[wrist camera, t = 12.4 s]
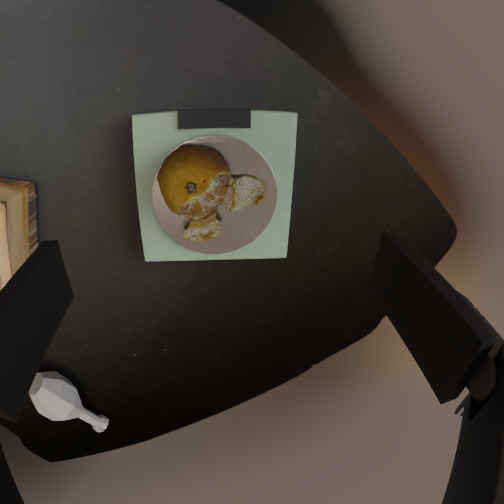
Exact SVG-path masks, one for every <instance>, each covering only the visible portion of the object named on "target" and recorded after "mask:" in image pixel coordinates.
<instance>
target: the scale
mask: <svg viewBox="0 0 504 504" xmlns="http://www.w3.org/2000/svg"><path fill="white" fill-rule="evenodd" d="M296 131H297V113H294V112H287V111H269V110H247V109H206V110H179V111H167V112H153V113H142V114H136V115H132V133H133V153H134V168H135V180H136V192H137V202H138V211H139V220H140V228H141V236H142V243H143V250H144V257H145V261H187V260H226V259H263V258H286V257H287V247H288V236H289V225H290V213H291V201H292V188H293V175H294V162H295V147H296ZM206 134H224V135H229V136H233V137H236V138H239V139H241V140H243V141H245V142H247V143H249V144H250V145H252V146H253V147H254V148H256V149H257V150H258V151H259V152H260V153H261V154H262V155H263V157H264V158H265V159H266V160H267V162H268V163H269V165H270V167H271V169H272V171H273V173H274V176H275V180H276V185H277V203H276V207H275V211H274V214H273V216H272V219H271V221H270V222H269V224H268V226H267V227H266V228H265V230H264V231H263V232H262V233H261V234H260V235H259V236H258V237H257V238H256V239H255V240H254V241H252V242H251V243H249V244H248V245H246V246H244V247H242V248H240V249H238V250H235V251H232V252H227V253H222V254H206V253H199V252H196V251H192V250H190V249H187V248H185V247H183V246H181V245H180V244H178V243H177V242H175V241H174V240H173V239H172V238H170V237H169V236H168V235H167V234H166V232H165V231H164V230H163V229H162V227H161V226H160V224H159V222H158V220H157V218H156V216H155V213H154V210H153V206H152V193H151V192H152V184H153V180H154V176H155V174H156V172H157V169H158V167H159V166H160V164H161V162H162V161H163V160H164V159H165V157H166V156H167V155H168V154H169V153H170V152H171V151H172V150H173V149H174V148H175V147H177V146H178V145H180V144H181V143H183V142H185V141H187V140H189V139H191V138H194V137H197V136H201V135H206Z"/></svg>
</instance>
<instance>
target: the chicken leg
mask: <svg viewBox="0 0 504 504" xmlns="http://www.w3.org/2000/svg"><path fill="white" fill-rule="evenodd" d="M29 395H30V397H31V399H32V402H33V404H34V405H35V407H36V409H37V411H38V412H39V413H40V414H42V415H43V416H45V417H47V418H49V419H51V420H52V421H64V420H69V419H73V418H77V417H78V418H80V419H82V420H84V421H86V422H87V423H89V424H91V425H93V429H94V430H95V431H96V432H104V429H106V427H107V426H108V420H109V419H108V418H107V417H106V416H104V415H96V414H94V413H92V412H91V411H89V410H87V409H85V408H84V407H83V406H82V403H81V400H80V397H79V394H78V391H77V389H76V388H75V387H74V385H73V384H72V383H71V382H70V381H69V380H68V379H67V378H65V377H64V376H63V375H61V374H60V373H58V372H57V371H51V372H40V373H36V376H35V378H34V381H33V383H32V385H31V388H30V390H29Z"/></svg>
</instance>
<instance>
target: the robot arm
mask: <svg viewBox="0 0 504 504" xmlns="http://www.w3.org/2000/svg"><path fill="white" fill-rule="evenodd" d="M369 290H370V291H371V293H372V294H373V295H374V297H375V298H376V300H377V301H378V303H379V304H380V306H381V307H382V309H383V310H384V312H385V313H386V315H387V316H388V318H389V319H390V321H391V323H392V324H393V326H394V327H395V329H396V330H397V332H398V333H399V335H400V337H401V338H402V340H403V341H404V343H405V345H406V346H407V347H408V349H409V351H410V352H411V354H412V356H413V357H414V359H415V361H416V362H417V364H418V366H419V367H420V369H421V371H422V372H423V374H424V376H425V377H426V379H427V381H428V382H429V384H430V386H431V388H432V389H433V391H434V393H435V395H436V396H437V398H438V400H439V402H440V404H443V403H446V402H449V401H451V400H454V399H456V398H457V397H458V396H459V395H460V393H461V392H462V391H463V390H464V388H465V387H467V389H468V390H469V393H468V395H467V396H466V397H465V399H464V400H463V401H462V402H461V404H460V405H459V406H458V407H457V409H456V411H455V414H457V413H458V412H459V411H460V410H461V409H462V408H463V407H464V411H463V412H462V414H461V416H463V418H462V425H461V430H460V436H459V441H458V446H457V450H456V455H455V459H454V463H453V467H452V471H451V475H450V478H449V482H448V486H447V489H446V492H445V495H444V499H443V502H442V504H504V340H503V339H502V338H501V336H500V335H499V334H498V333H497V332H496V331H495V329H494V328H493V327H492V326H491V324H490V323H489V322H488V321H487V320H486V319H485V318H484V316H483V315H481V313H480V312H479V311H478V310H477V309H476V308H474V305H473V304H472V303H471V302H470V301H469V300H468V299H467V298H466V297H465V296H463V295H462V294H461V293H459V292H458V291H456V290H455V289H454V288H453V287H452V286H451V285H450V284H449V283H448V282H447V281H446V280H445V279H444V278H443V277H442V276H441V274H440V273H439V272H437V270H436V269H435V268H434V267H433V266H432V265H431V264H430V263H429V262H428V261H427V260H425V259H424V258H423V257H422V256H421V255H420V254H419V253H418V252H417V251H416V250H415V249H414V248H413V247H412V246H411V245H410V244H409V243H408V242H407V241H406V240H404V239H403V238H402V237H401V236H400V235H399V234H398V233H382V236H381V240H380V245H379V249H378V253H377V257H376V261H375V265H374V269H373V273H372V277H371V280H370V284H369ZM73 298H74V295H73V292H72V289H71V286H70V283H69V279H68V276H67V273H66V269H65V266H64V262H63V259H62V255H61V251H60V248H59V244H58V240H55V241H43V242H42V243H41V244H40V245H39V246H38V247H37V248H36V249H35V250H34V252H33V253H32V254H31V255H30V256H29V257H28V258H27V259H26V261H25V262H24V263H23V264H22V265H21V266H20V268H19V269H18V270H17V271H16V272H15V274H14V275H13V276H12V277H11V278H10V280H9V281H8V282H7V283H6V285H5V286H4V287H3V288H2V290H1V291H0V417H1V418H4V419H7V420H10V421H13V422H16V423H18V420H19V417H20V414H21V411H22V409H23V406H24V403H25V401H26V398H27V396H28V393H29V390H30V388H31V385H32V383H33V381H34V378H35V376H36V373H37V371H38V369H39V367H40V364H41V362H42V360H43V358H44V355H45V353H46V351H47V349H48V347H49V345H50V343H51V340H52V338H53V336H54V334H55V332H56V330H57V328H58V326H59V324H60V322H61V320H62V318H63V316H64V314H65V313H66V311H67V309H68V307H69V305H70V303H71V301H72V300H73ZM0 504H24V502H23V500H22V497H21V495H20V494H19V491H18V489H17V486H16V484H15V481H14V479H13V477H12V474H11V472H10V469H9V466H8V464H7V461H6V458H5V455H4V452H3V449H2V447H1V443H0Z"/></svg>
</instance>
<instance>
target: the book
mask: <svg viewBox="0 0 504 504" xmlns="http://www.w3.org/2000/svg"><path fill="white" fill-rule="evenodd" d="M35 189H36V188H35V183H32V182H28V181H17V180H16V179H11V178H3V177H0V291H1V290H2V288H3V287H4V286H5V285H6V283H7V282H8V281H9V280H10V278H11V277H12V276H13V275H14V274H15V272H16V271H17V270H18V269H19V268H20V266H21V265H22V264H23V263H24V262H25V261H26V259H27V258H28V257H29V256H30V255H31V254H32V253H33V252H34V250H35V249H36V248H37V247H38V240H37V239H38V237H37V224H36V214H37V200H36V197H37V195H36V194H35Z"/></svg>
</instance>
